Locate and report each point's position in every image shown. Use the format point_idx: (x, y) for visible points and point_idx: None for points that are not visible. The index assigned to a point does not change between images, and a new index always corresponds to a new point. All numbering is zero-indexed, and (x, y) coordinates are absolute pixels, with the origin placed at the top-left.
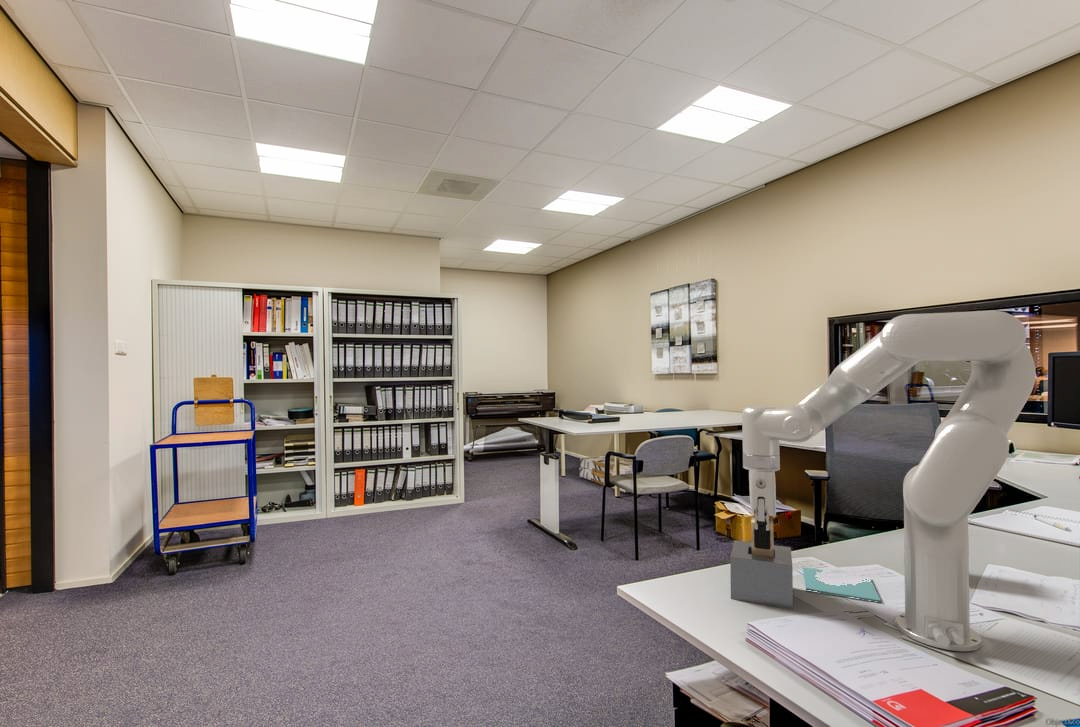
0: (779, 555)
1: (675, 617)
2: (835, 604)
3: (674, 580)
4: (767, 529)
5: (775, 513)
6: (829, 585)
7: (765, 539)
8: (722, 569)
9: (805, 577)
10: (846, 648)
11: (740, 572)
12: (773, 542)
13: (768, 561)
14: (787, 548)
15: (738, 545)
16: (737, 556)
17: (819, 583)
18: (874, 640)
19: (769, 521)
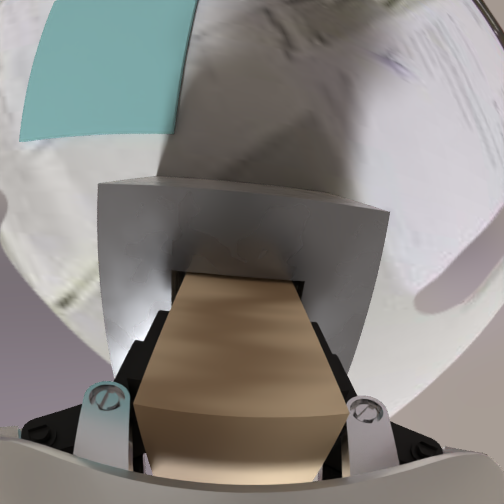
0: (261, 255)
1: (396, 403)
2: (249, 68)
3: None
4: (382, 412)
5: (491, 471)
6: (126, 68)
7: (344, 375)
8: (107, 350)
9: (83, 131)
10: (462, 129)
11: None
12: (262, 314)
13: (363, 309)
14: (120, 201)
15: None
16: None
17: (117, 93)
18: (418, 59)
19: (249, 437)
